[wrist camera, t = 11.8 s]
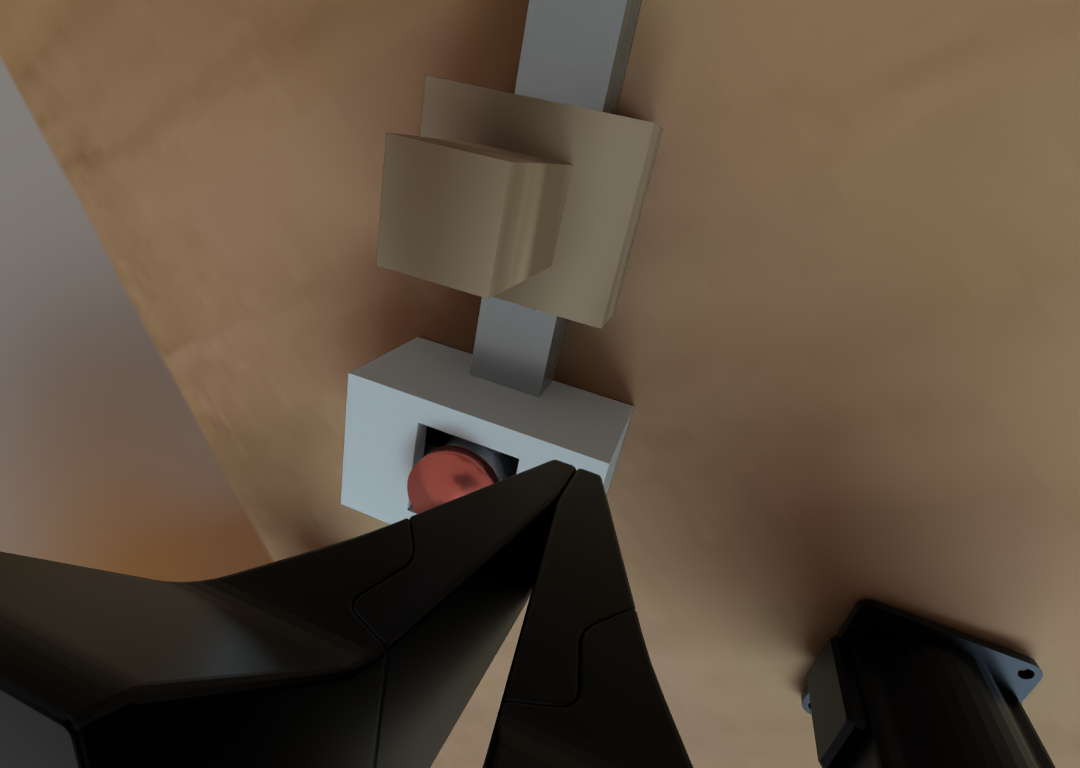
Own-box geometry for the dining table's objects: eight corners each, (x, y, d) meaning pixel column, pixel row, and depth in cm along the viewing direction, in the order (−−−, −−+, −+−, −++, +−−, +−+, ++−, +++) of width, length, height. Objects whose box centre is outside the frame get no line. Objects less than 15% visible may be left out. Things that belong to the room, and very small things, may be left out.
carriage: (669, 132, 18) (621, 101, 10) (623, 302, 21) (555, 382, 13) (479, 92, 20) (311, 39, 12) (457, 256, 22) (305, 301, 14)
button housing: (633, 406, 22) (609, 463, 18) (598, 521, 25) (569, 597, 20) (417, 336, 25) (348, 373, 20) (405, 449, 27) (340, 503, 23)
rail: (730, -384, 14) (730, -464, 12) (553, 380, 23) (538, 397, 21) (618, -385, 15) (603, -461, 13) (489, 359, 24) (469, 374, 22)
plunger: (545, 416, 23) (501, 475, 18) (530, 483, 24) (485, 552, 20) (472, 391, 24) (411, 442, 19) (461, 457, 25) (403, 519, 21)
